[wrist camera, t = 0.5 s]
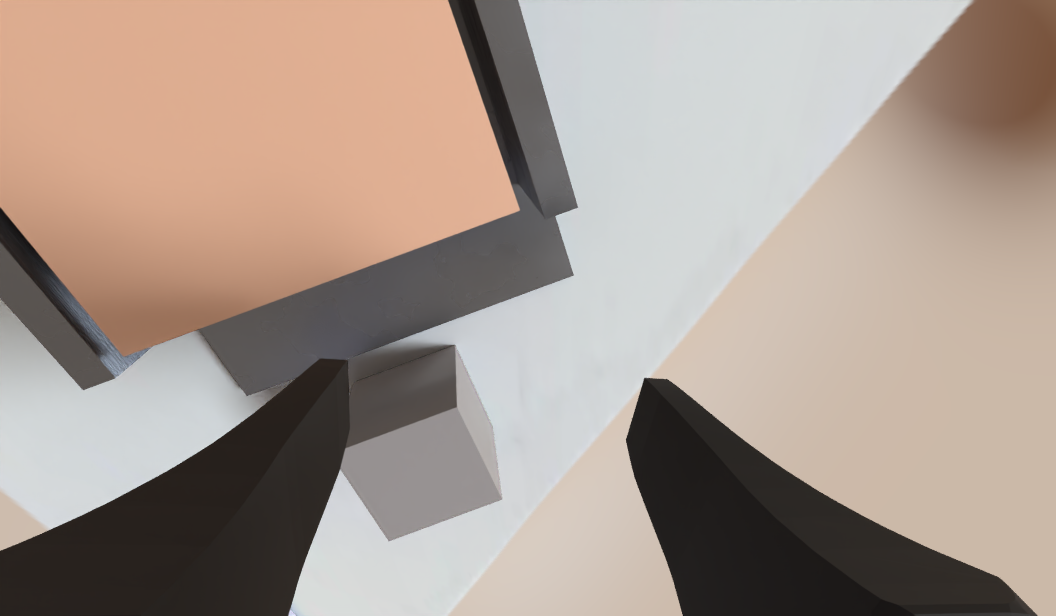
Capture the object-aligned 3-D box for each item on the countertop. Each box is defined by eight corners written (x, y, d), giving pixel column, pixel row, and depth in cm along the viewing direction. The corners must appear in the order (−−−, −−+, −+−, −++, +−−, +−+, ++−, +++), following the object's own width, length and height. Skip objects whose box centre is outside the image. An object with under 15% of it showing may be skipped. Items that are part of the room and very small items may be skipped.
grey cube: (399, 459, 25) (388, 541, 20) (353, 381, 23) (330, 453, 18) (492, 424, 25) (502, 499, 20) (455, 344, 23) (456, 407, 18)
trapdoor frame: (251, 388, 22) (179, 497, 16) (-120, -136, 14) (-541, -304, 8) (570, 270, 22) (615, 336, 16) (383, -323, 14) (336, -630, 8)
